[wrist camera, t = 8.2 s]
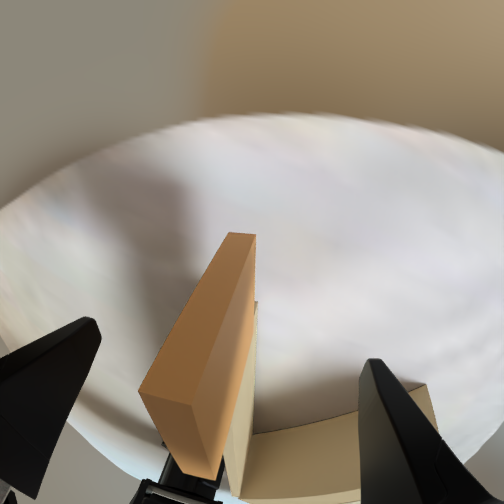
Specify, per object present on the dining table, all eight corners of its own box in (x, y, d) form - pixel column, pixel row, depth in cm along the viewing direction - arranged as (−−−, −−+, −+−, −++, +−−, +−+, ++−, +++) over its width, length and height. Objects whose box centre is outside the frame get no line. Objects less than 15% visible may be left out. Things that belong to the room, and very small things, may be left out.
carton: (300, 466, 26) (294, 518, 19) (252, 434, 23) (238, 499, 16) (437, 428, 20) (448, 486, 13) (426, 384, 17) (444, 464, 10)
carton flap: (254, 436, 22) (234, 528, 14) (243, 434, 22) (222, 525, 14) (265, 210, 13) (191, 405, 4) (242, 209, 13) (137, 390, 4)
